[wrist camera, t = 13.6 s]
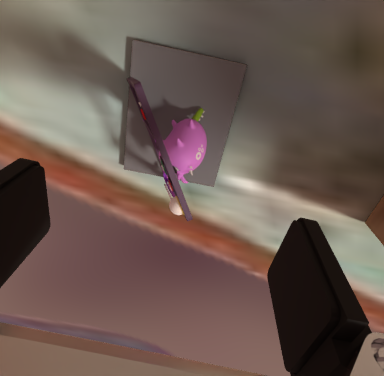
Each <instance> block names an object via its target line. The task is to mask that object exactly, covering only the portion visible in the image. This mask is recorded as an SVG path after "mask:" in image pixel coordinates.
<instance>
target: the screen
mask: <svg viewBox="0 0 384 376" xmlns="http://www.w3.org/2000/svg"><path fill="white" fill-rule="evenodd" d="M365 223H366V225H367V226H368V227H369V228H370V229H371V231H372V232H373V233H374V234H375V236H376V237H377V238H378V239H379V241H380V242H381V243H382V244H383V245H384V195H383V197H382V198H381V200H380V201H379V203H378V204H377V206H376V207H375V209H374V210H373V212H372V213H371V215H370V216H369V218H368V219H367V221H366V222H365Z"/></svg>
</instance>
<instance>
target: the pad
mask: <svg viewBox="0 0 384 376" xmlns="http://www.w3.org/2000/svg"><path fill="white" fill-rule="evenodd" d="M246 68H247V65H246V64H243V63H238V62H234V61H229V60H225V59H220V58H216V57H211V56H207V55H202V54H197V53H193V52H188V51H184V50H179V49H175V48H170V47H166V46H161V45H157V44H152V43H148V42H143V41H139V40H132V54H131V69H130V77H133V78H134V79H136V80H138V81H140V83H141V85H142V87H143V90H144V93H145V95H146V98H147V101H148V103H149V106H150V108H151V111H152V114H153V116H154V119H155V122H156V124H157V127H158V129H159V132H160V135H161V137H162V140H165V139H166V138H167V137H168V135H169V134H170V132H171V131H172V130H173V126H172V120H174V121H175V122H176V123H179V122H180V121H182V120H184V119H192V117H193V116H194V115H195V113H196V112H197V111H198V110H199V109H200V108H202V109H203V110H204V111H205V112H204V113H202V116H204V117H203V118H202V117H200V119H201V120H200V121H198V122H199V123H200V124H201V125H202V127H203V128H204V130H205V133H206V138H207V147H206V153H205V156H204V158H203V160H202V162H201V164H200V165H199V166H198V167H197V168H196V169H194V170H193V171H192V173H193V175H191V174H190V172H189V173H186V174H184V175H183V176H184V178H185V180H186V181H187V182H192V183H197V184H202V185H207V186H212V187H214V184H215V180H216V176H217V173H218V169H219V166H220V162H221V158H222V155H223V151H224V147H225V144H226V140H227V137H228V133H229V129H230V126H231V122H232V118H233V115H234V111H235V107H236V104H237V100H238V97H239V93H240V89H241V86H242V82H243V78H244V75H245V71H246ZM160 164H161V163H160V160H159V158H158V155H157V153H156V150H155V148H154V145H153V143H152V140H151V138H150V135H149V133H148V130H147V128H146V125H145V123H144V121H143V118H142V116H141V113H140V111H139V108H138V106H137V103H136V101H135V98H134V96H133V93H132V91H131V88H130V86H129V99H128V113H127V128H126V143H125V158H124V169H125V170H130V171H136V172H141V173H146V174H151V175H156V176H161V177H163V171H162V168H161V165H160ZM176 177H177V175H176ZM177 179H178V178H177ZM180 180H181V179H180Z"/></svg>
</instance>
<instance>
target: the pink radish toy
mask: <svg viewBox="0 0 384 376" xmlns="http://www.w3.org/2000/svg"><path fill="white" fill-rule="evenodd" d="M127 81H128V83H129V86H130V88H131V91H132V93H133V96H134V98H135V101H136V103H137V106H138V108H139V111H140V113H141V116H142V118H143V121H144V123H145V125H146V128H147V130H148V133H149V135H150V138H151V140H152V143H153V145H154V148H155V150H156V153H157V155H158V158H159V160H160V163H161V164H160V165H161V168H162V171H163V177H164V180H165V182H166V185H167V187H168V189H169V191H170V193H171V194H172V196H173V198H171V196H170V193H169V191H168V189H167V187H166V185H165V184H164V185H165V187H166V190H167V192H168V194H169V196H170V199H171V201H170V204H169V207H170V210H171V211H172V213H174V214H176V215H182V214H183V215H184V216H185V217H186V220H187V221H189V220H192V216H191V213H190V211H189V208H188V206H187V203H186V200H185V198H184V195H183V192H182V190H181V187H180V185H179V182H178V180H180V179H181V181H182V182H183V183H188V182H187V181H186V180H185V178H184V176H183V175H184V174H186V173H189V172H190V174H191V175H193V173H192V171H193V170H194V169H196V168H197V167H198V166H199V165H200V164H201V162H202V160H203V158H204V156H205V153H206V147H207V138H206V133H205V130H204V128H203V127H202V125H201V124H200V123H199V122H198V121H200V120H201V119H200V117H202V118H203V117H204V116H202V113H204V112H205V111H204V110H203V109H202V108H200V109H199V110H198V111H197V112H196V113H195V115H194V116H193V117H192V119H184V120H182V121H180V122H179V123H176V122H175V121H174V120H172V126H173V130H172V131H171V132H170V134H169V135H168V137H167V138H166V139H165V140H162V137H161V135H160V132H159V129H158V127H157V124H156V122H155V119H154V116H153V114H152V111H151V108H150V106H149V103H148V101H147V98H146V95H145V93H144V90H143V87H142V85H141V83H140V81H138V80H136V79H134V78H133V77H130V78H127ZM176 175H177V177H176ZM177 178H178V179H177ZM167 182H168V184H169V185H168V184H167Z"/></svg>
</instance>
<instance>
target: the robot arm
mask: <svg viewBox="0 0 384 376" xmlns="http://www.w3.org/2000/svg"><path fill="white" fill-rule="evenodd" d="M49 228H50V216H49V207H48V198H47V189H46V180H45V171H44V168H43V167H42V166H40V164H39V162H37V161H32V160H28V159H23V158H20V159H17V160H16V161H14V162H13V163H11V164H10V165H8V166H6V167H5V168H3V169H2V170H0V288H1V286H2V285H3V284H4V283H5V282H6V281H7V279H8V278H9V277H10V276H11V275H12V274H13V272H14V271H15V270H16V269H17V268H18V267H19V265H20V264H21V263H22V262H23V261H24V260H25V258H26V257H27V256H28V255H29V254H30V253H31V251H32V250H33V249H34V248H35V247H36V245H37V244H38V243H39V242H40V241H41V240H42V238H43V237H44V236H45V235H46V234H47V232H48V231H49ZM268 283H269V288H270V293H271V298H272V303H273V309H274V314H275V319H276V324H277V329H278V334H279V340H280V345H281V350H282V355H283V360H284V365H285V368H286V370H287V371H288V372H290V374H291V376H384V334H382V333H372V332H371V330H370V328H369V326H368V324H369V322H368V320H367V318H366V316H365V314H364V312H363V310H362V308H361V306H360V304H359V302H358V300H357V298H356V296H355V294H354V292H353V290H352V288H351V286H350V284H349V282H348V281H347V279H346V277H345V275H344V273H343V271H342V269H341V267H340V265H339V263H338V261H337V259H336V257H335V255H334V253H333V251H332V249H331V247H330V245H329V243H328V241H327V239H326V238H325V236H324V234H323V232H322V230H321V228H320V226H319V224H318V222H317V221H314V220H310V219H305V218H299V219H298V220H297V221H296V220H294V221H293V222H292V224H291V226H290V228H289V230H288V232H287V234H286V236H285V238H284V240H283V242H282V244H281V246H280V248H279V250H278V252H277V254H276V256H275V258H274V260H273V262H272V264H271V266H270V268H269V270H268ZM0 376H265V375H262V374H257V373H252V372H247V371H242V370H237V369H232V368H228V367H223V366H217V365H213V364H208V363H203V362H198V361H193V360H188V359H184V358H179V357H174V356H169V355H164V354H159V353H154V352H149V351H144V350H139V349H134V348H129V347H124V346H119V345H114V344H109V343H104V342H99V341H94V340H89V339H84V338H79V337H73V336H68V335H63V334H58V333H53V332H48V331H43V330H38V329H32V328H27V327H22V326H17V325H12V324H7V323H1V322H0Z"/></svg>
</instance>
